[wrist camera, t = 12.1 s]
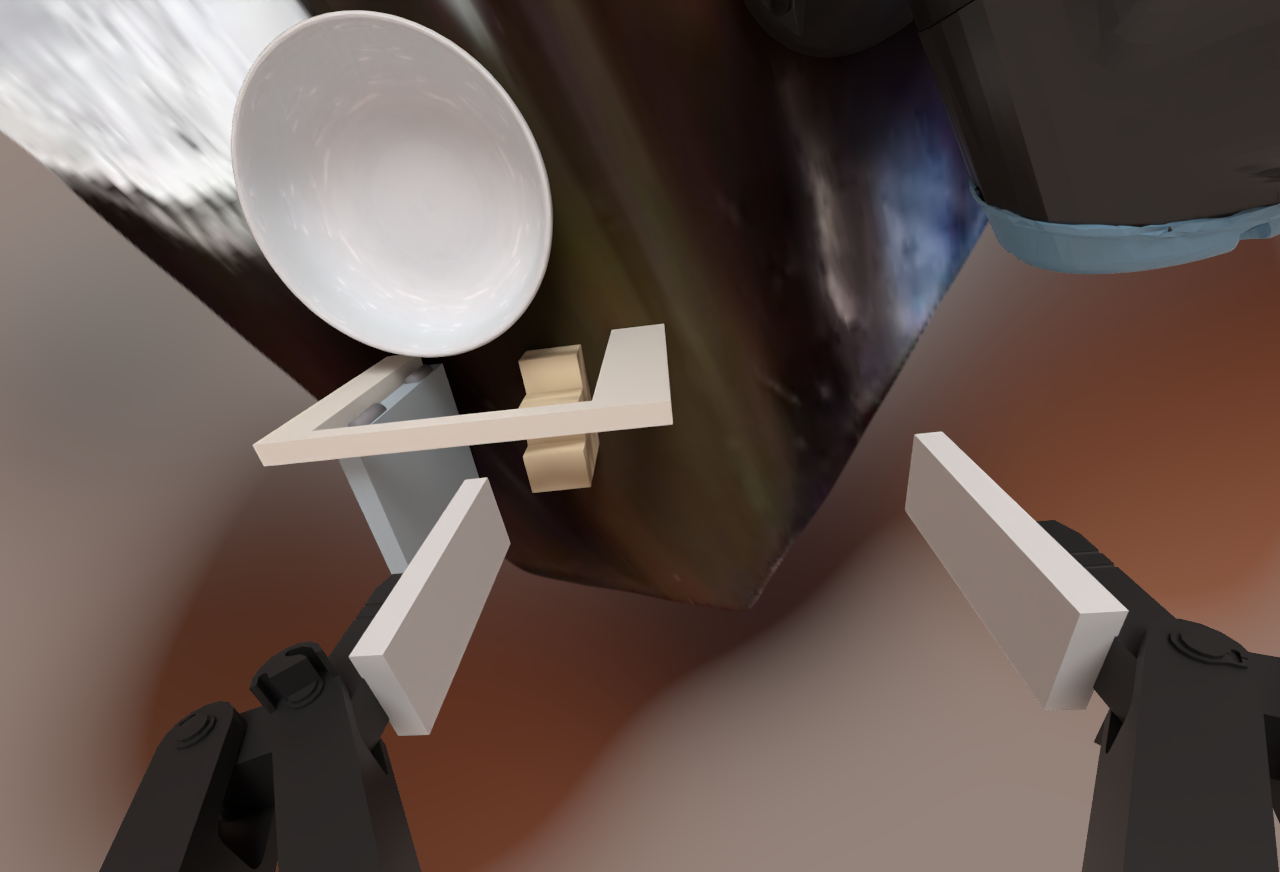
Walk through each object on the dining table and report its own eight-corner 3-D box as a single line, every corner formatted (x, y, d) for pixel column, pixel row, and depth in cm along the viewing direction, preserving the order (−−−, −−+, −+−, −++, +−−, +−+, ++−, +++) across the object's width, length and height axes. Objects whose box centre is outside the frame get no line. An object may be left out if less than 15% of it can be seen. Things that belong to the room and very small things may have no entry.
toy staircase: (526, 350, 44) (502, 382, 37) (580, 343, 44) (567, 375, 37) (549, 447, 49) (532, 492, 42) (599, 442, 48) (590, 486, 41)
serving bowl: (459, 380, 46) (430, 410, 40) (248, 196, 39) (173, 198, 33) (621, 213, 39) (615, 218, 33) (400, -45, 32) (341, -98, 26)
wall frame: (664, 323, 43) (670, 400, 28) (665, 340, 44) (673, 424, 28) (387, 356, 45) (252, 444, 30) (393, 372, 45) (264, 466, 30)
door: (502, 503, 52) (450, 615, 38) (474, 506, 52) (412, 618, 38) (457, 355, 44) (373, 429, 31) (424, 359, 44) (326, 434, 31)
